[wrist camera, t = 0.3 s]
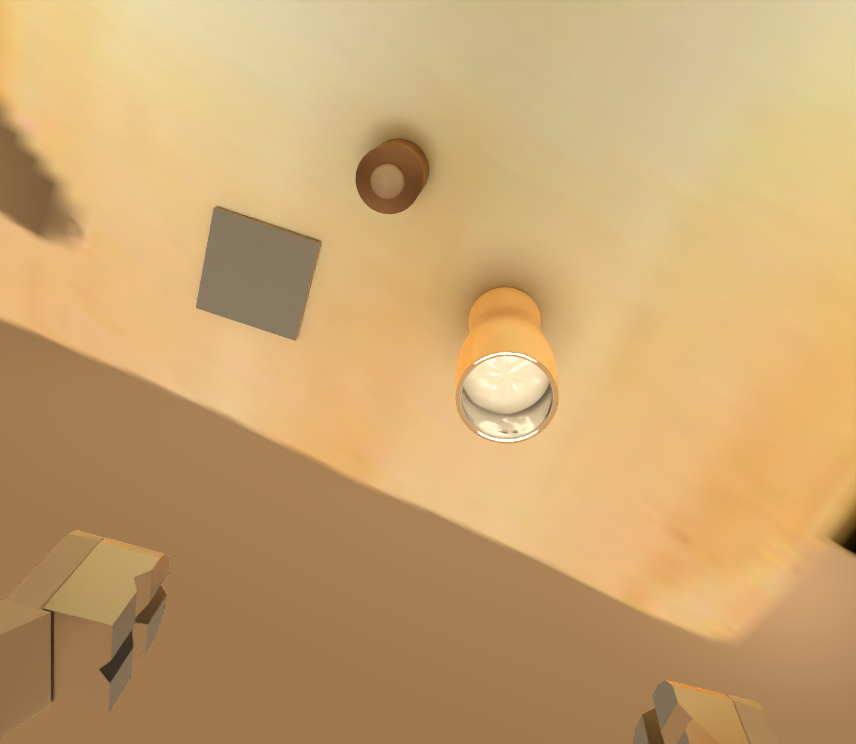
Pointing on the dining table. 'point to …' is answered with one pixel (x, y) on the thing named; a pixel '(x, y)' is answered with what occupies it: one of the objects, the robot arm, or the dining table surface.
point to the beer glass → (506, 369)
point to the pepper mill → (392, 176)
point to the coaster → (257, 273)
